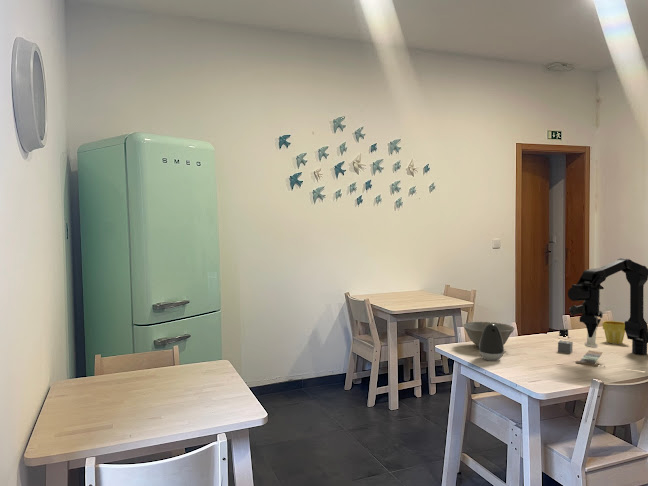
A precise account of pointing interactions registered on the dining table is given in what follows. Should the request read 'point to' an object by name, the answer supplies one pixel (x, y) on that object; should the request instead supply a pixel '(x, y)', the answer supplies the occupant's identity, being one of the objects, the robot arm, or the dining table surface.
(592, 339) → the pawn
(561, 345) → the grey cube
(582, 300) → the robot arm
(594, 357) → the board
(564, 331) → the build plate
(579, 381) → the dining table surface
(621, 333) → the plant pot
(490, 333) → the dark grey egg shape
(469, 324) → the ceramic bowl
